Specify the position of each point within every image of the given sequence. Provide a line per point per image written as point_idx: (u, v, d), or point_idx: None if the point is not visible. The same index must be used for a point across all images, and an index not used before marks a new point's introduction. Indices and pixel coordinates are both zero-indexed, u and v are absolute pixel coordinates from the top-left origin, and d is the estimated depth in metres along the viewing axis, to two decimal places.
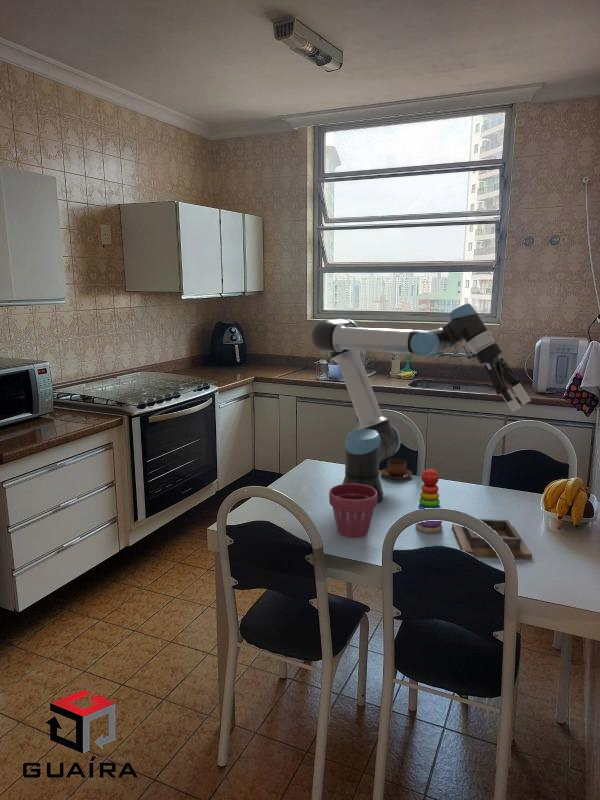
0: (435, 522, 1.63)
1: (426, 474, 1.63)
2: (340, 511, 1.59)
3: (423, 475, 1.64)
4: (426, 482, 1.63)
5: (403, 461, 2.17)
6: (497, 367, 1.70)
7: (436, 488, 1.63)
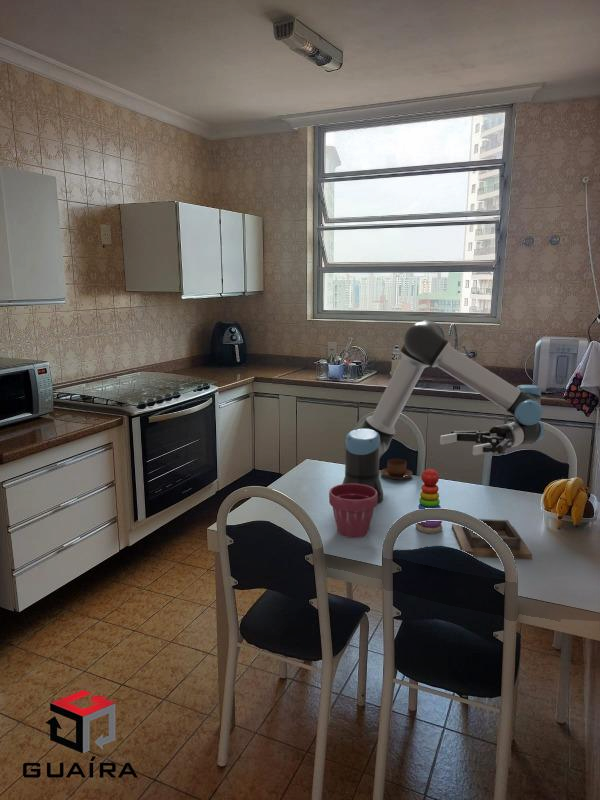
0: (435, 522, 1.63)
1: (426, 474, 1.63)
2: (340, 511, 1.59)
3: (423, 475, 1.64)
4: (426, 482, 1.63)
5: (403, 461, 2.16)
6: (496, 444, 1.71)
7: (436, 488, 1.63)
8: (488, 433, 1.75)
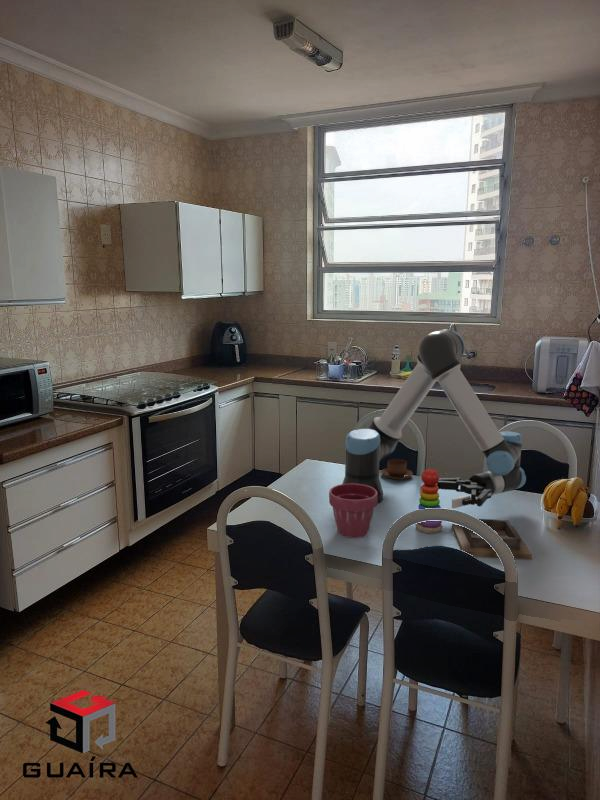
0: (435, 522, 1.63)
1: (426, 474, 1.63)
2: (340, 511, 1.59)
3: (423, 475, 1.64)
4: (426, 482, 1.63)
5: (403, 461, 2.16)
6: (476, 494, 1.70)
7: (436, 488, 1.63)
8: (468, 482, 1.73)
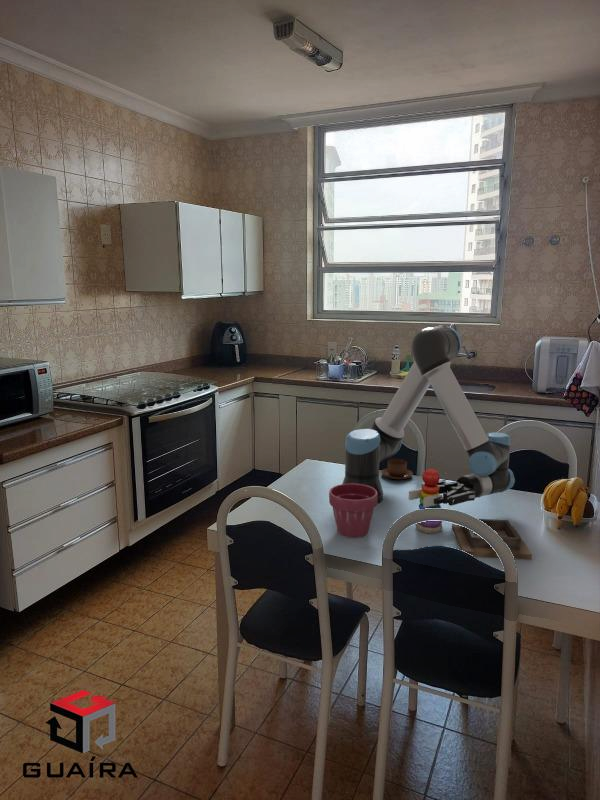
0: (435, 522, 1.63)
1: (427, 474, 1.62)
2: (340, 511, 1.59)
3: (424, 475, 1.63)
4: (427, 482, 1.62)
5: (403, 461, 2.16)
6: None
7: (437, 488, 1.63)
8: (456, 483, 1.71)
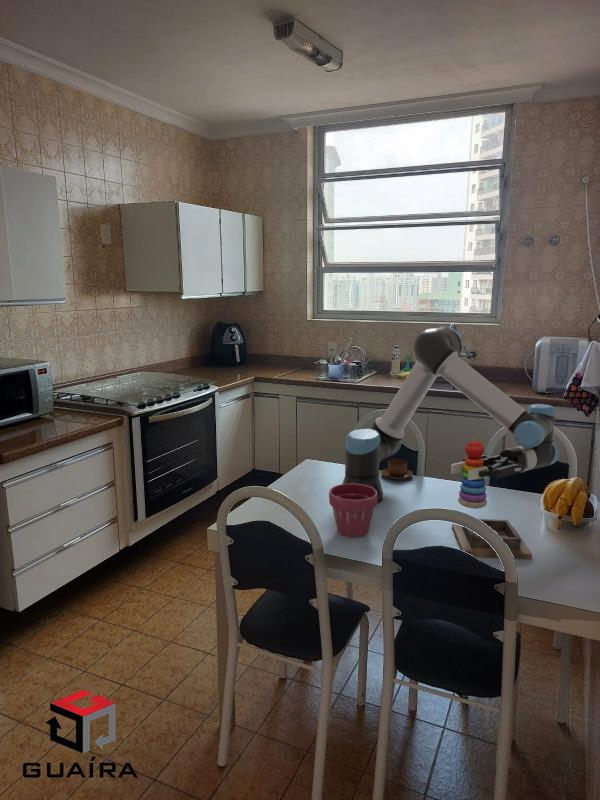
0: (480, 496, 1.55)
1: (471, 446, 1.54)
2: (340, 511, 1.59)
3: (467, 447, 1.55)
4: (471, 454, 1.54)
5: (403, 461, 2.16)
6: None
7: (481, 461, 1.54)
8: (499, 457, 1.63)
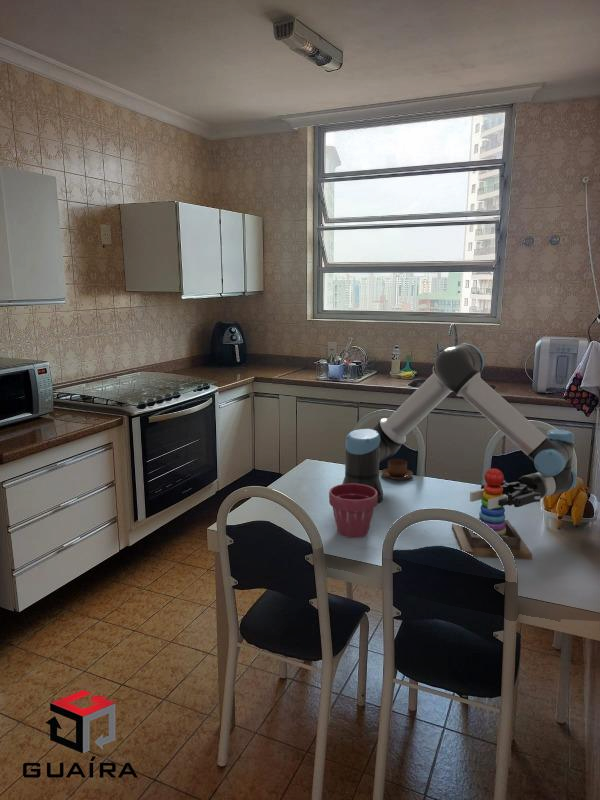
0: (499, 525, 1.53)
1: (490, 474, 1.52)
2: (340, 511, 1.59)
3: (487, 475, 1.53)
4: (490, 483, 1.52)
5: (404, 461, 2.16)
6: None
7: (501, 489, 1.53)
8: (518, 484, 1.61)
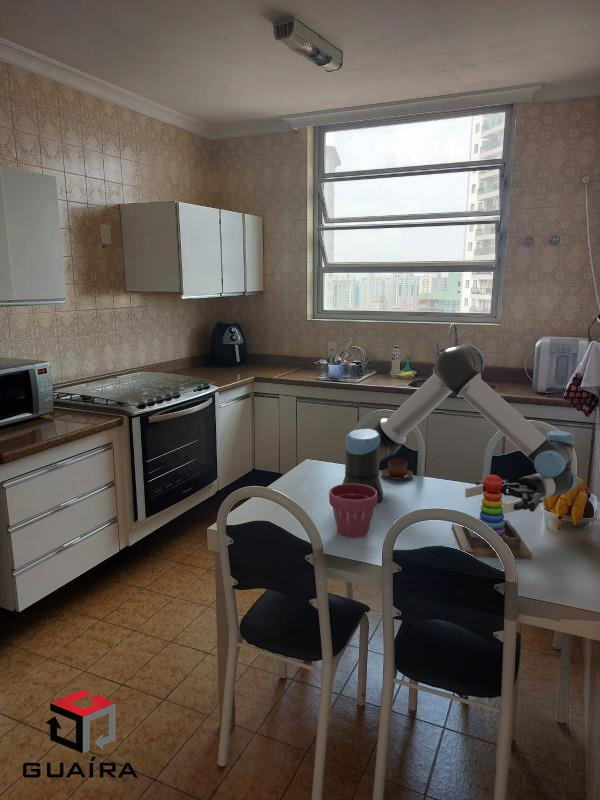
0: (499, 531, 1.53)
1: (489, 480, 1.53)
2: (340, 511, 1.59)
3: (486, 481, 1.54)
4: (489, 489, 1.53)
5: (404, 461, 2.16)
6: (526, 498, 1.58)
7: (500, 495, 1.53)
8: (517, 485, 1.61)
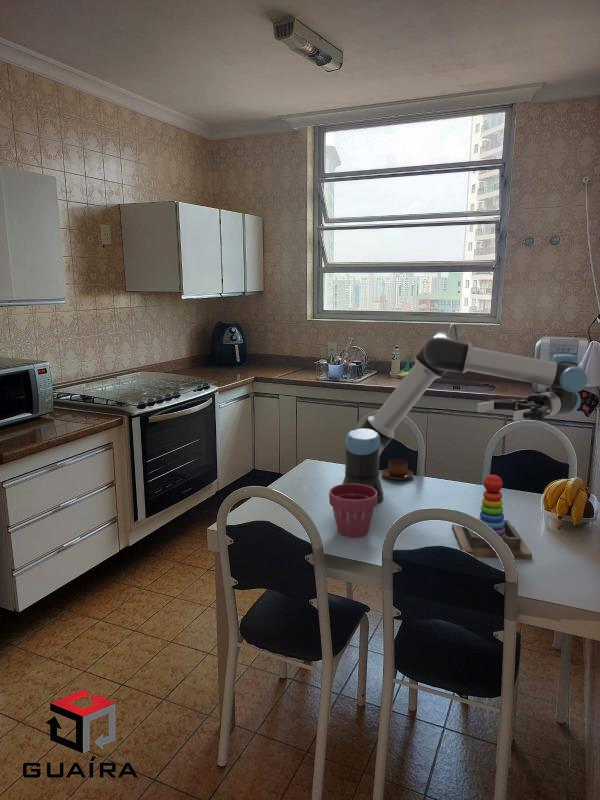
0: (499, 531, 1.53)
1: (489, 480, 1.53)
2: (340, 511, 1.59)
3: (486, 481, 1.54)
4: (489, 489, 1.53)
5: (404, 462, 2.16)
6: None
7: (500, 495, 1.53)
8: (525, 401, 1.74)
